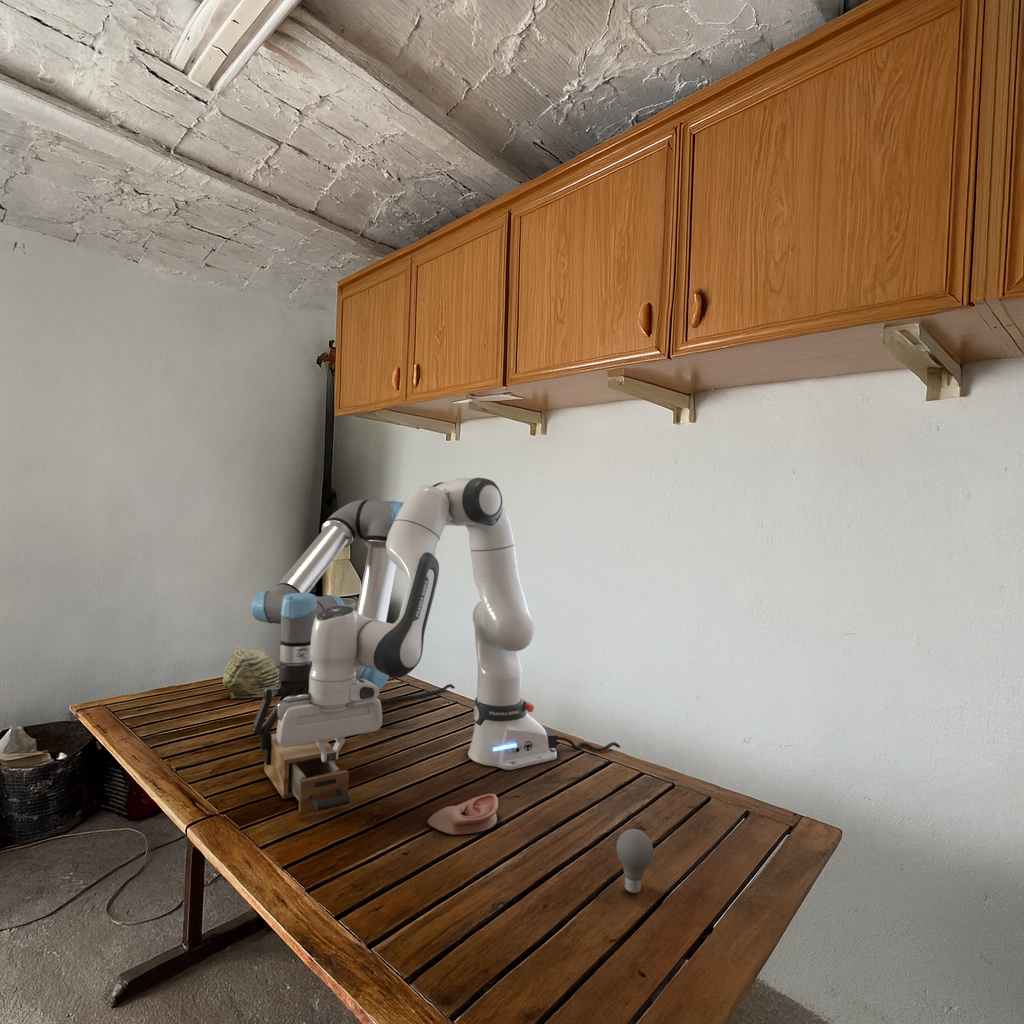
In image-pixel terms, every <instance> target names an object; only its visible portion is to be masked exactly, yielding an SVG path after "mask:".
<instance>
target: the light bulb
mask: <svg viewBox="0 0 1024 1024" xmlns="http://www.w3.org/2000/svg"><path fill="white" fill-rule="evenodd" d="M615 849H616V854H617V857H618V859H619V861H620V863H621V865H622V867H623V873H624V874H623V875H624V876H625V878H624V888H625V890H627V891H628V892H630V893H634V894H635V893H639V892H640V891H641V889H642V887H641V886H642V879H643V877H644V875H645V871H646V868H647V867H648V866H649V864H650V863H651V861H652V859H653V855H654V847H653V843H652V841H651V838H649V836H648V835H647V834H646V833H645V832H643V831H642V830H641V829H636V828H629V829H627V830H625V831H623V832H622V833H621V834H620V835H619V837H618V839H617V841H616V847H615Z"/></svg>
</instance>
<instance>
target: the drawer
mask: <svg viewBox="0 0 1024 1024" xmlns="http://www.w3.org/2000/svg"><path fill="white" fill-rule="evenodd" d="M349 775H350V772H349V770H347V769H344V770H341V768H339V767H338V766H337V765H336V763H335V764H334V763H333V762H332V761H328V762H322V760H321V757H320V758H315V759H310V760H305V761H300V762H295V763H290V764H289V789H290V790H291V791H292V793H293V794H294V796H295V797H294V798H296V800H297V801H298V812H299V813H300V814H304V813H308V812H311V811H315V812H321V811H325V810H328V809H333V808H337V807H341V806H346V805H350V803H351V797H350V795H349V777H350V776H349Z"/></svg>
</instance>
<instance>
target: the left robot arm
mask: <svg viewBox="0 0 1024 1024" xmlns="http://www.w3.org/2000/svg"><path fill="white" fill-rule="evenodd" d="M404 502H405V501H396V500H370V499H369V500H368V499H359V500H354V501H352V502H349V503H347V504H345V505H344V506H342V507H340V508H338V510H335V512H333V513H332V514H331V515H330V516H329V517H328V518H327V519H326V520H325V521H324V522H323V524H322V525H321V532H320V533H319V534H318V535H317V537H316V538H315V539H314V540H313V541H312V543H311V544H310V545H309V546H308V548H307V549H306V550H304V552H303V553H302V555H301V556H300V557H299V558H298V559H297V560H296V562H294V564H293V565H292V567H291V568H290V569H289V570H288V571H287V572H286V573H285V575H284V576H283V577H282V578H281V580H280V581H279V582H278V583H277V585H276V586H274V588H273V589H272V590H269V591H268V590H266V591H260V592H258V593H256V594H255V596H254V597H253V599H252V602H251V613H252V616H253V617H254V619H255V620H257V621H259V622H263V623H268V624H278V625H280V640H279V641H280V644H279V661H280V662H281V663H279V668H278V669H279V684H278V686H277V687H274V688H268V687H265V688H264V695H263V697H262V700H261V703H260V706H259V708H258V711H257V713H256V716H255V719H254V721H253V723H252V727H251V731H252V732H253V734H254V735H260V739H259V740H260V741H259V747H260V748H261V750H262V751H264V756H263V759H264V760H263V762H264V761H265V763H266V764H267V765H271V742H272V735H271V734H272V733H270V732H271V730H272V728H274V725H275V724H276V723H277V722H278V717H277V706H278V704H279V703H280V701H282V700H283V699H285V698H286V697H287V696H297V695H301V694H307V693H309V675H310V671H311V668H312V659H311V656H310V646H311V634H312V627H313V623H314V620H315V617H316V615H317V614H318V613H319V612H320V611H322V610H323V609H326V608H329V607H333V606H346V603H345V601H344V600H343V599H342V598H341V597H339V596H338V595H335V594H329V595H328V594H326V595H323V596H316V594H314V593H311V591H312V589H313V588H314V587H315V585H316V584H317V583H318V582H319V580H320V579H321V578H322V576H323V575H324V574H325V573H326V571H327V570H328V569H329V567H330V566H331V564H332V563H333V562H334V561H335V560H336V558H337V557H338V555H340V553H341V552H342V550H343V549H344V548H348V547H350V546H351V545H352V543H353V542H354V541H358V540H364V545H365V546H366V548H367V550H368V551H367V556H366V561H365V567H364V572H363V577H362V580H361V586H360V591H359V596H358V601H357V607H356V610H355V611H356V612H357V613H359V614H361V615H363V616H365V617H368V618H371V619H375V620H379V621H382V622H387V620H388V615H389V614H388V613H389V608H390V603H391V597H392V591H393V586H394V581H395V575H396V570H397V566H396V565H395V564H394V563H393V562H392V561H391V559H390V558H389V556H388V553H387V550H386V541H387V537H388V534H389V531H390V529H391V527H392V525H393V522H394V520H395V518H396V516H397V514H398V512H399V510H400V509H401V507H402V505H403V504H404ZM356 678H361V679H365V680H368V681H370V682H371V683H373V684H374V685H376V686H377V687H378V688H379V691H381V690H382V689H383V688H384V686H385V685H386V684H387V682H388V680H389V678H390V676H389V675H386V674H384V673H382V672H380V671H378V670H374V669H371V668H367V667H364V666H362V665H361V666H358V667H356ZM449 688H451V689H452V690H454V689H455V688H456V687H455V686H454V685H453V684H451V683H449V684H446V685H445V686H443V687H441V688H439V689H438V688H437V689H435V690H432V691H428V692H423V693H418V694H412V695H405V696H399V697H391V698H386V699H381V700H380V699H379V700H380V702H381V705H382V704H387V703H393V702H399V701H406V700H411V699H412V700H413V699H419V698H423V697H428V696H431V695H435V694H439V693H442V692H444V691H446V690H447V689H449ZM276 693H278V694H276ZM275 694H276V695H279V697H278V699H277V701H276V704H275V706H274V707H273V708H272V710H271V712H270V714H269V715H268V717H267V714H268V712H269V709H270V706H271V704H272V700H273V698H274V697H275V696H276V695H275ZM284 702H286V701H284ZM266 717H267V718H266ZM265 719H266V720H265Z"/></svg>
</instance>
